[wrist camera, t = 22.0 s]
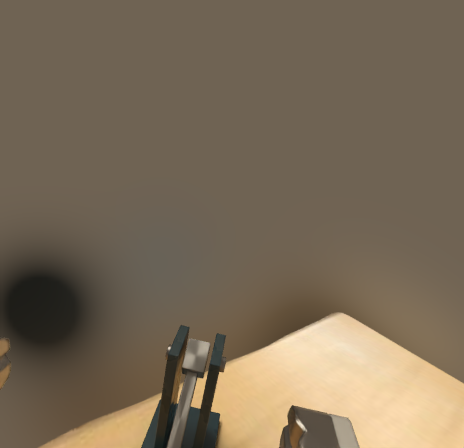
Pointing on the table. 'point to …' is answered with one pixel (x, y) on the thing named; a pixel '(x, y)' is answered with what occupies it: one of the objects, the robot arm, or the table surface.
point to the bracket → (199, 420)
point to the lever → (188, 387)
